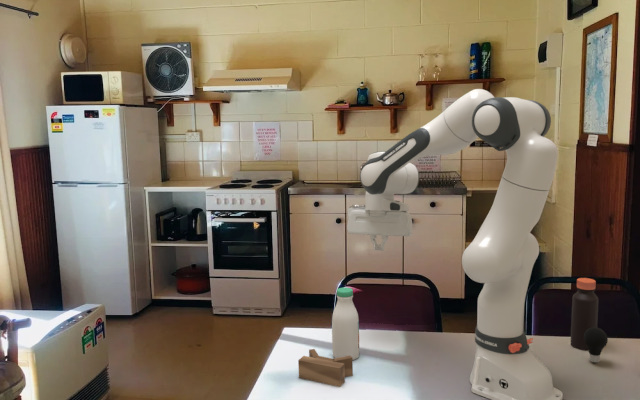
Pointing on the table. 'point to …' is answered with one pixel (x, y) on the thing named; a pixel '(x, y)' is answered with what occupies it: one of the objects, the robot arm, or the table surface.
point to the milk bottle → (345, 326)
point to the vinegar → (583, 311)
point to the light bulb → (595, 342)
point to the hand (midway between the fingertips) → (378, 250)
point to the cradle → (325, 368)
